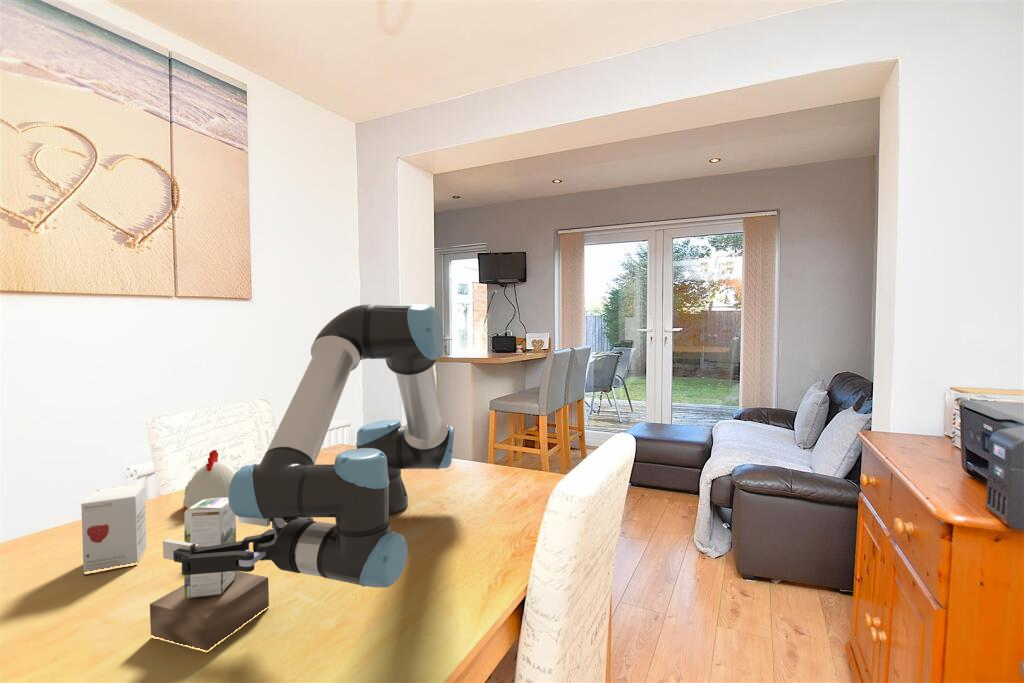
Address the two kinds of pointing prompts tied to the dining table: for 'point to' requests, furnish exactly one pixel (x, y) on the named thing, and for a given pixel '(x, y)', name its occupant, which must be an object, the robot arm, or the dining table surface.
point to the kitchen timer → (208, 482)
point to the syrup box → (209, 543)
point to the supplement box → (113, 527)
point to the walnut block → (209, 612)
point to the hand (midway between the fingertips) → (205, 529)
